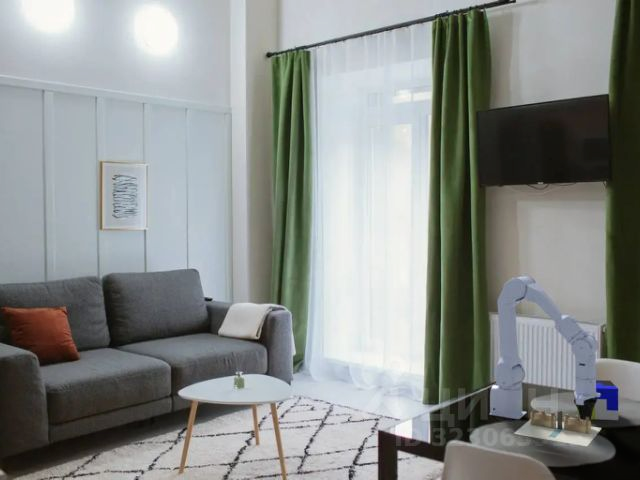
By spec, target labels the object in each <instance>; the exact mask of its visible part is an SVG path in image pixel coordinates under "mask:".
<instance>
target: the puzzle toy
mask: <svg viewBox="0 0 640 480" xmlns="http://www.w3.org/2000/svg"><path fill="white" fill-rule="evenodd" d="M596 393H600V397H594V398H596V399H597V402H596V404H595V406H594V408H593V412H592V417H591V420H605V421H619V388H618V387H617V386H616V385H615V384H614V383H613V382H612V381H611V380H601V379H600V380H598V379H596ZM576 410H577V412H578V413H579V411H578V409H577V408H576Z"/></svg>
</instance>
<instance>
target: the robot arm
mask: <svg viewBox="0 0 640 480" xmlns="http://www.w3.org/2000/svg"><path fill="white" fill-rule="evenodd" d="M502 286H503V289H502V291H501V292H500V295H499V296H498V298H497V317H498V318H497V319H498V337H499V351H500V353H499V354H500V357H499V359H498V361H497V362H496V363H497V364H496V371H495V374H494V380H495V383H496V384H493V385H491V387H490V391H489V392H490V394H489V407H490V408H489V409H490V410H489V412H490V413H489V416H495V417H501V418H508V419H509V418H510V419H515V420H520V419H521V418H522V417H524V416H525V415H527V413H528V412H527V411H523V384H522V382H523V381H524V380H525V378H526V371H525V368H524V367H523V363H522V359H521V358H520V357H519V350H518V334H517V333H518V331H517V313H516V306H518V304H520V303H521V301H526V302H532V303H535V304H536V305H537V306H538V307H540V309H541V310H542V311H543V312H544V313H545V314H546V315H547V316H548V317H549V318H550V319H551V320H553V322H554V328H555V330H557V332H558V333H559V334H560V335H561V336H562V338H564V340H565V341H566V342H567V343H568V344H569V346H570V345H571V346H570V348H571V351H572V354H573V355H574V391H573V393H574V397H575V398H574V399H573V403H574V405H575V407H576V410H577V409H578V411H579V412H578V411H577V412H578V414H579V419H582V420H586V417H589V421H592V419H591V417H592V412H593V408H594V406H595V404H596V402H597V399H596V398H594V397H600V393H596V380H597V362H596V361H597V360H596V352H597V351H598V348H599V343H598V341H597V339H596V337H595V336H593V334H589V332H588V331H587V330H584V328H582V327H581V326H580V325H579V324H578V323H577V321H578V319H577V318H575V317H574V316H573V317H572V315H568V314H564V313H563V312H562V311H561V310H560V308H559V307H558V306H557V304H556V303H554V301H553V300H552V299H551V298H550V297H549V295H548V293H546V291H545V290H544V289H543V288H542V286H541V284H540V283H538V282H536V280H535V279H534V278H533V277H532V276H529V275H523V276H520V277H512V278H510V279H509V280H508V281H506V282H505V283H504V284H503V285H502Z"/></svg>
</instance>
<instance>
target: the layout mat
mask: <svg viewBox="0 0 640 480" xmlns="http://www.w3.org/2000/svg"><path fill="white" fill-rule="evenodd" d="M562 426H563V429H557V420H556V428H552V427H546V426H540V425H533V424H531V423H530V419H529V420H528V421H527V422H525V423H524V424H523V425H522V426H521V427H520V428H518V429H517V430H516V431H515V432H514V433H513V435H519V436H524V437H530V438H536V439H542V440H548V441H551V442H552V441H553V442H558V443H565V444H569V445H570V444H571V445H575V446H582V447H588V446H589V445H590V444H591V442H592V441H593V440H594V439H595V438H596V436H597V435H598V434H599V433H600V431H601V430H602V427H597V426H592V425H591V433H590V434H589V433H583V432H576V431H571V430H565V429H564V421H562Z"/></svg>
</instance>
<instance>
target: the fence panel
mask: <svg viewBox="0 0 640 480" xmlns="http://www.w3.org/2000/svg"><path fill="white" fill-rule="evenodd" d="M569 414H570V413H565V414H564V417H563V422H564V429H565V430H571V431H576V432H583V433H589V434H590V433H591V426H592V423H591V421H592V420H591V421H589V417H586V420H582V419H580V415H577V414H576V415H575V416H574V417H570V416H569Z"/></svg>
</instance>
